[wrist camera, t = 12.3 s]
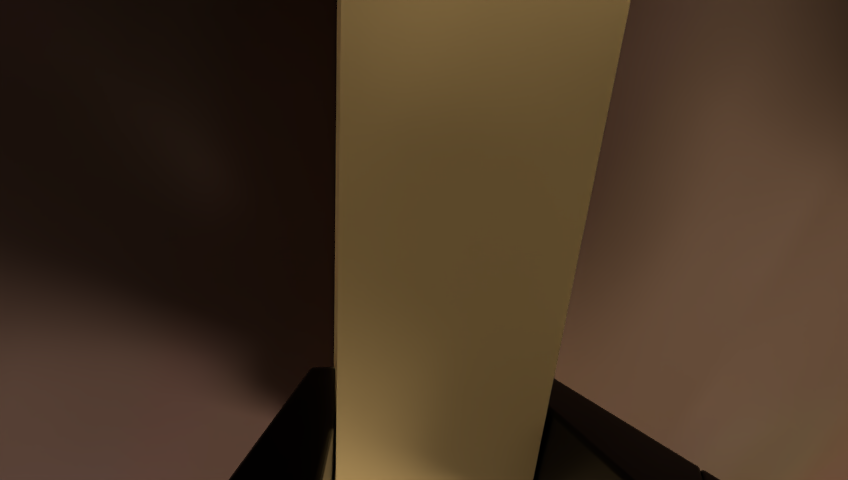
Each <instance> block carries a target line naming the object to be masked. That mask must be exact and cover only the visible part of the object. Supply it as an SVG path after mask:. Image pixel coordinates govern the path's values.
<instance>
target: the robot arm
mask: <svg viewBox="0 0 848 480" xmlns="http://www.w3.org/2000/svg"><path fill="white" fill-rule="evenodd" d="M335 453H336V390H335V368H333V367H314V368H312V369H310V370H309V372H308V373H307V374H306V376H305V377H304V378H303V380H302V381H301V382H300V384H299V385H298V387H297V388H296V389H295V391H294V392H293V393H292V395H291V396H290V397H289V399H288V400H287V401H286V403H285V404H284V406H283V407H282V408H281V410H280V411H279V412H278V414H277V415H276V416H275V418H274V419H273V420H272V422H271V423H270V424H269V426H268V427H267V429H266V430H265V431H264V433H263V434H262V435H261V437H260V438H259V439H258V441H257V442H256V443H255V445H254V446H253V448H252V449H251V450H250V452H249V453H248V454H247V456H246V457H245V458H244V460H243V461H242V462H241V464H240V465H239V466H238V468H237V469H236V471H235V472H234V473H233V475H232V476H231V477H230V479H229V480H335ZM533 480H719V479H718V478H716V477H714V476H713V475H711V474H709V473H708V472H706V471H704V470H702V471H700V469H699V467H698V466H696V465H695V464H693V463H691V462H690V461H688V460H686V459H685V458H683V457H682V456H680V455H678V454H677V453H675V452H673V451H672V450H670V449H668V448H667V447H665V446H664V445H662V444H660V443H659V442H657V441H655V440H654V439H652V438H650V437H649V436H647V435H646V434H644V433H642V432H641V431H639V430H637V429H636V428H634V427H632V426H631V425H629V424H628V423H626V422H624V421H623V420H621V419H619V418H618V417H616V416H615V415H613V414H611V413H610V412H608V411H606V410H605V409H603V408H601V407H600V406H598V405H597V404H595V403H593V402H592V401H590V400H588V399H587V398H585V397H583V396H582V395H580V394H579V393H577V392H575V391H574V390H572V389H570V388H569V387H567V386H565V385H564V384H562V383H561V382H559V381H557V380H556V379H553V384H552V389H551V394H550V399H549V404H548V409H547V414H546V419H545V424H544V428H543V433H542V438H541V443H540V448H539V453H538V458H537V463H536V468H535V473H534V478H533Z"/></svg>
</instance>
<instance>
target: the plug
mask: <svg viewBox="0 0 848 480" xmlns="http://www.w3.org/2000/svg"><path fill="white" fill-rule="evenodd" d="M630 1H631V0H337V71H336V188H335V306H334V368H335V390H336V453H335V480H533V478H534V473H535V468H536V463H537V458H538V453H539V448H540V443H541V438H542V433H543V428H544V424H545V419H546V414H547V409H548V404H549V399H550V394H551V389H552V384H553V379H554V374H555V370H556V365H557V360H558V355H559V350H560V345H561V340H562V335H563V330H564V325H565V320H566V315H567V311H568V306H569V301H570V296H571V291H572V286H573V281H574V276H575V271H576V266H577V261H578V257H579V252H580V247H581V242H582V237H583V232H584V227H585V222H586V217H587V212H588V207H589V203H590V198H591V193H592V188H593V183H594V178H595V173H596V168H597V163H598V158H599V153H600V149H601V144H602V139H603V134H604V129H605V124H606V119H607V114H608V109H609V104H610V99H611V94H612V90H613V85H614V80H615V75H616V70H617V65H618V60H619V55H620V50H621V45H622V40H623V36H624V31H625V26H626V21H627V16H628V11H629V6H630Z"/></svg>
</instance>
